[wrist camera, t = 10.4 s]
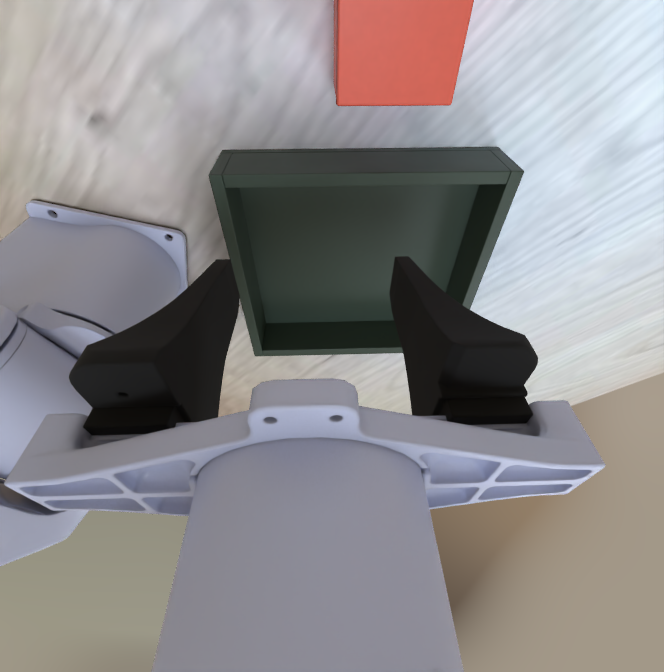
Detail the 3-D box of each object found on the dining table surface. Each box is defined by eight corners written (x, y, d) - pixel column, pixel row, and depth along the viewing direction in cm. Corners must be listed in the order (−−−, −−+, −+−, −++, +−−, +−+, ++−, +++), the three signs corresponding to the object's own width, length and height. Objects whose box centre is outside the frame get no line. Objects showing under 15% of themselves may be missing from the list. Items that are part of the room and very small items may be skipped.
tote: (259, 324, 30) (254, 356, 28) (221, 149, 20) (207, 174, 17) (441, 321, 31) (453, 351, 28) (498, 146, 20) (524, 171, 18)
